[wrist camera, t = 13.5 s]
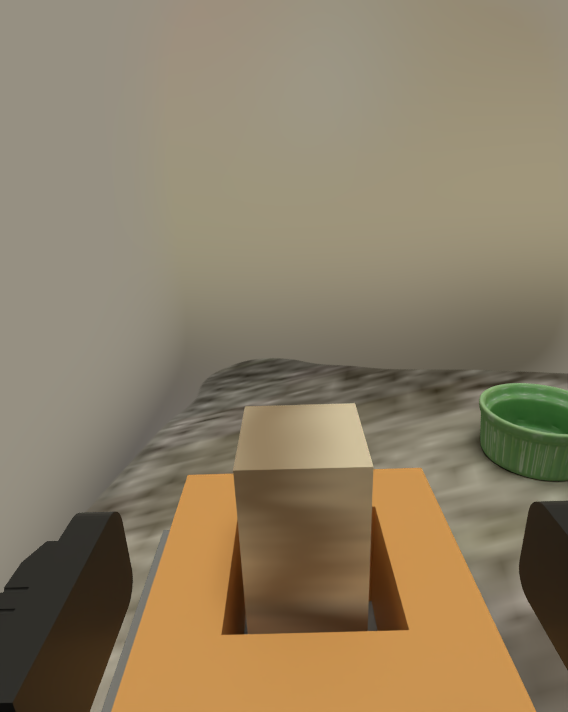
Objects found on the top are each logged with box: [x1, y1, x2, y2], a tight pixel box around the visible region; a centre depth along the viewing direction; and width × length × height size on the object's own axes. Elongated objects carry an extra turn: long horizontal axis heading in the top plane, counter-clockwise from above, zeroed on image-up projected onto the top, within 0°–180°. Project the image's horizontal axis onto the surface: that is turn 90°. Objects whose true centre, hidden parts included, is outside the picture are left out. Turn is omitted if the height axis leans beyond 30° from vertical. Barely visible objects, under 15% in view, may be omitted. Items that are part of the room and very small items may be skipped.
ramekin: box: [479, 383, 568, 481], centre depth 38 cm, size 9×9×4 cm
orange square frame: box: [102, 468, 536, 712], centre depth 20 cm, size 18×18×7 cm
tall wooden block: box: [233, 403, 373, 634], centre depth 19 cm, size 4×4×12 cm
